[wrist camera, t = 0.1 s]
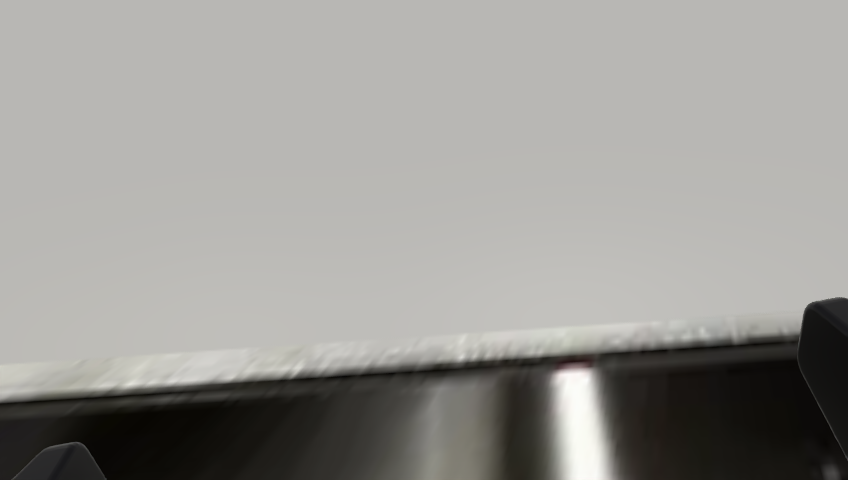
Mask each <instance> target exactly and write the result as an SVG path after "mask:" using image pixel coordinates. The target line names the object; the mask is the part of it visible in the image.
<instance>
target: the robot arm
mask: <svg viewBox="0 0 848 480" xmlns="http://www.w3.org/2000/svg"><path fill="white" fill-rule="evenodd" d="M797 358H798V364H799V367H800V370H801V372H802V374H803V376H804V378H805V380H806V382H807V384H808V386H809V387H810V389H811V391H812V393H813V395H814V397H815V399H816V401H817V403H818V405H819V407H820V408H821V410H822V412H823V414H824V416H825V418H826V420H827V422H828V424H829V426H830V428H831V429H832V431H833V433H834V435H835V437H836V439H837V441H838V443H839V445H840V447H841V449H842V450H843V452H844V454H845V456H846V458H847V460H848V299H847V298H842V297H841V298H840V297H839V298H832V299H826V300H822V301H816V302H812V303H810V304H808V306H807V307H806V308H805V310H804V314H803V320H802V326H801V332H800V338H799V344H798V350H797ZM12 480H106V478H105V477H104V475H103V473H102V472H101V470H100V468H99V467H98V465H97V464H96V462H95V460H94V459H93V457H92V456H91V454H90V452H89V451H88V449H87V448H86V447H85V446H84V445H83V444H81V443H79V442H72V443H67V444H62V445H56V446H51V447H48V448H46V449H44V450H43V451H41V452H40V453H39V454H38V455H37V456H36V457H35V458H34V459H33V460H32V461H31V462H30V463H29V464H28V465H27V466H26V467H25V468H24V469H23V470H22V471H21V472H20V473H19V474H18V475H17V476H15V477H14V478H13V479H12Z"/></svg>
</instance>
